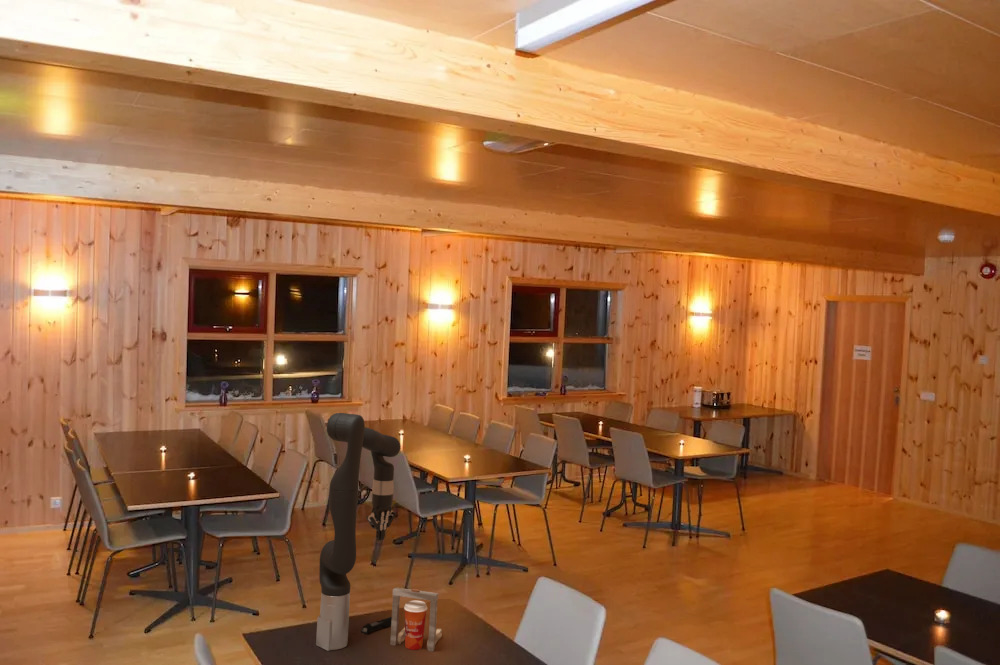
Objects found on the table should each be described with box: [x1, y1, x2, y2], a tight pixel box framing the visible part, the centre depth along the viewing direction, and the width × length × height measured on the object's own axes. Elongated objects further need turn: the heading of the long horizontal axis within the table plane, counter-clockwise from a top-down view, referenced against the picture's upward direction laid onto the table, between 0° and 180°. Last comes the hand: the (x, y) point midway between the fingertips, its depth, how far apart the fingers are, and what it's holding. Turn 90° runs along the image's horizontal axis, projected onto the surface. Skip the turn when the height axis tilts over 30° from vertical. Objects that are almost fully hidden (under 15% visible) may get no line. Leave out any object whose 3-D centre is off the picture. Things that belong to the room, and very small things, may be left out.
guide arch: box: [389, 587, 443, 652], centre depth 263 cm, size 13×15×19 cm
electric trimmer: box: [360, 616, 392, 636], centre depth 273 cm, size 4×16×3 cm, turn 140°
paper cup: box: [403, 599, 429, 651], centre depth 258 cm, size 8×8×14 cm
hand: (380, 539), depth 284 cm, fingers closed
